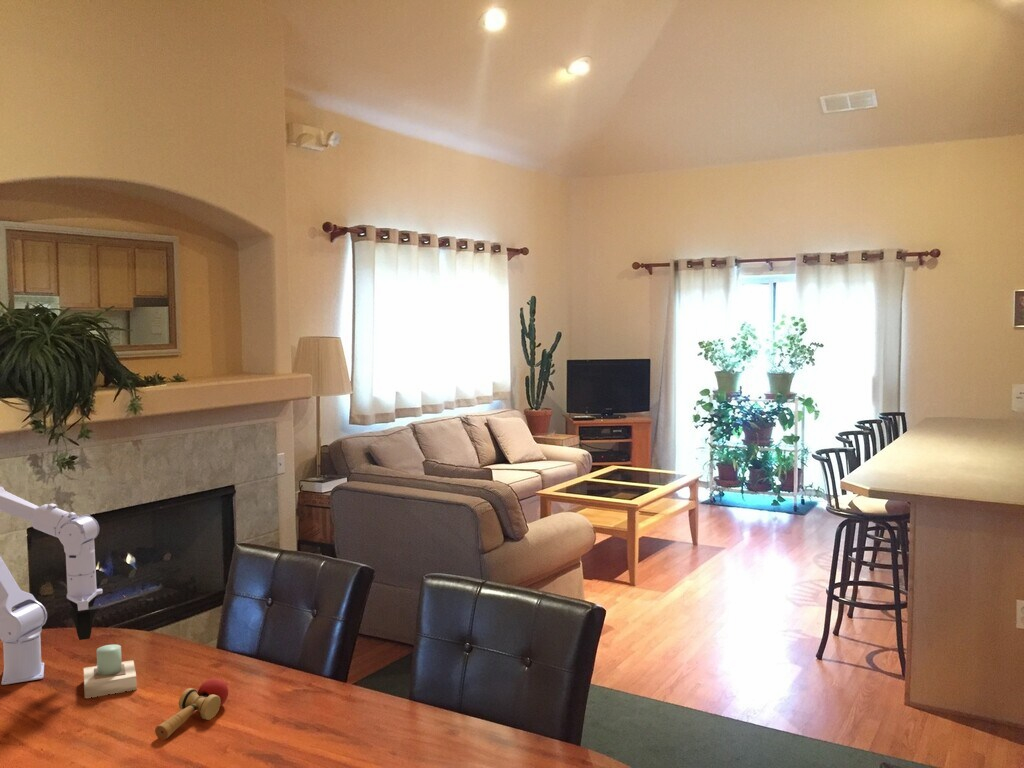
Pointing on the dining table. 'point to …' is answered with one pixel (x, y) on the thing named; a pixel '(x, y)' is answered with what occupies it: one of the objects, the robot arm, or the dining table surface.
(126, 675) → the birch base
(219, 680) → the kendama
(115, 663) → the pale green rounded cylinder
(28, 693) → the dining table surface
